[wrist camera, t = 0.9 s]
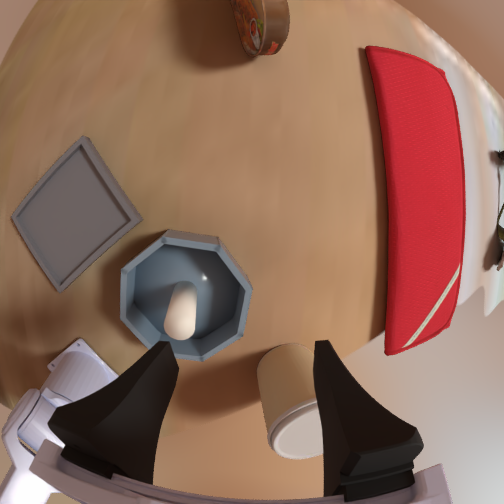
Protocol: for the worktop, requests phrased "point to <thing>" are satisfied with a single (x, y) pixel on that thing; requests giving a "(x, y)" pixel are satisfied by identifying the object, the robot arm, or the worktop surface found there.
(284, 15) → the tin
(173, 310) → the dowel pin
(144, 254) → the blue-grey octagonal bowl
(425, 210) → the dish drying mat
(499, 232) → the artificial flower
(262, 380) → the coffee cup
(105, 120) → the worktop surface
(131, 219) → the tray
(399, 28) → the worktop surface
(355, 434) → the robot arm
